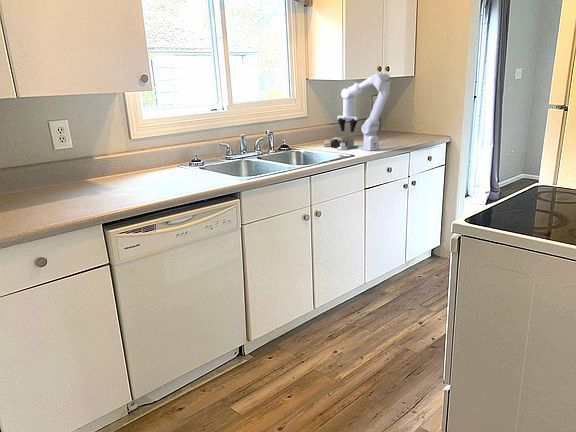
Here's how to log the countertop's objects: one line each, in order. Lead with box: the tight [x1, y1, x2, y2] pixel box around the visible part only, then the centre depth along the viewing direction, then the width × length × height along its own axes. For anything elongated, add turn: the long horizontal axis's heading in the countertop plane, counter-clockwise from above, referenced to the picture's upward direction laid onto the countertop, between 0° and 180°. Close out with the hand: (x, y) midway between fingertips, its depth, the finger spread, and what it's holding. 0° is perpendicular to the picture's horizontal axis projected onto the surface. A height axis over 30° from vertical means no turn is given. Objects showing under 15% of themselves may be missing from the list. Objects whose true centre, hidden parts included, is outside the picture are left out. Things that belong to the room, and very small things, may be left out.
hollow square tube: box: [342, 137, 355, 146], centre depth 290 cm, size 5×5×5 cm
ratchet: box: [336, 143, 358, 151], centre depth 282 cm, size 13×6×4 cm, turn 118°
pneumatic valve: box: [323, 136, 343, 149], centre depth 292 cm, size 6×12×12 cm
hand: (347, 131), depth 288 cm, fingers open, 7 cm apart
